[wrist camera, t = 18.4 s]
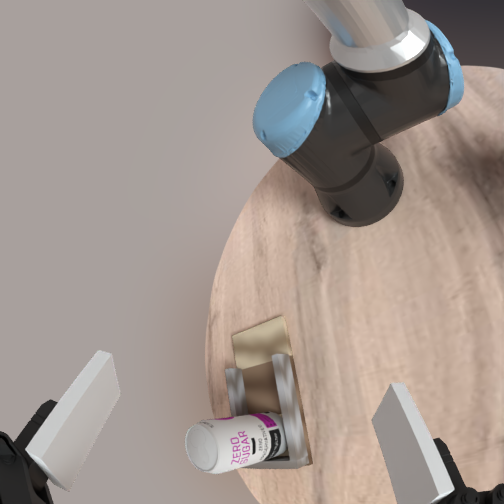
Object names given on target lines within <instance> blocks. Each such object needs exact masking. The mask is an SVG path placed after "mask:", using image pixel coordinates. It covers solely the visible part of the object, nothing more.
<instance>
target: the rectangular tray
mask: <svg viewBox="0 0 504 504" xmlns="http://www.w3.org/2000/svg"><path fill="white" fill-rule="evenodd" d="M232 339H233V346H234V354H235V361H236V368H229V369H225V374H226V381H227V388H228V395H229V402H230V409H231V415H232V417H236V416H244V415H250V414H257V413H263V412H273V413H276V414H278V415H279V416H281V417H282V418H283V423H284V428H285V434H286V440H287V445H288V448H287V449H286V450H285V452H284V453H282V454H280V455H278V456H276V457H273V458H270V459H267V460H264V461H261V462H258V463H255V464H252V465H249V466H245V467H242V468H253V469H298V468H300V467H302V466H306V465H311V464H313V461H312V456H311V450H310V445H309V439H308V434H307V428H306V423H305V417H304V412H303V407H302V401H301V396H300V391H299V386H298V381H297V375H296V370H295V365H294V360H293V355H292V350H291V345H290V340H289V335H288V330H287V325H286V321H285V316H279V317H277V318H274V319H272V320H270V321H267V322H265V323H263V324H260V325H258V326H255V327H253V328H250V329H248V330H245V331H243V332H240V333H238V334H235V335H233V336H232Z"/></svg>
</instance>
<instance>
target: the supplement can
mask: <svg viewBox="0 0 504 504" xmlns="http://www.w3.org/2000/svg"><path fill="white" fill-rule="evenodd" d="M287 448H288V445H287V440H286V434H285V428H284V423H283V418H282V417H281V416H279V415H278V414H276V413H273V412H263V413H257V414H250V415H244V416H236V417H228V418H219V419H210V420H201V421H200V422H199V423H197V424H196V425H193V426H192V427H190V428H189V430H188V431H187V433H186V437H185V449H186V452H187V455H188V457H189V460H190V462H191V463H192V464H193V465H194V466H195V468H197V469H198V470H200V471H203V472H209V473H213V474H220V473H224V472H227V471H231V470H235V469H238V468H242V467H245V466H249V465H252V464H255V463H258V462H261V461H264V460H267V459H270V458H273V457H276V456H278V455H280V454H282V453H284V452H285V450H286V449H287Z"/></svg>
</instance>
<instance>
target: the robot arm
mask: <svg viewBox="0 0 504 504" xmlns="http://www.w3.org/2000/svg"><path fill="white" fill-rule="evenodd" d="M303 1H304V2H305V3H306V5H307V6H308V7H309V8H310V9H311V10H312V11H313V12H314V14H315V15H316V16H317V17H318V18H319V19H320V21H321V22H322V23H323V24H324V25H325V27H326V28H327V29H328V30H329V31H330V33H331V34H332V37H331V40H330V51H331V54H332V56H333V58H334V61H333V62H331V63H329V64H327V65H325V66H323V67H322V68H320V67H319V66H317V65H315V64H313V63H310V62H300V63H299V64H294V65H291V66H290V67H288V68H286V69H285V70H283V71H282V72H280V73H279V74H278V75H277V76H276V77H275V78H274V79H273V80H272V81H271V82H270V83H269V84H268V86H267V87H266V88H265V90H264V91H263V93H262V94H261V96H260V98H259V100H258V102H257V104H256V107H255V110H254V114H253V129H254V132H255V134H256V136H257V138H258V139H259V140H260V141H261V142H262V143H263V144H264V145H265V146H266V147H267V148H268V149H269V150H270V151H271V152H272V153H273V155H275V156H276V157H279V158H280V159H281V160H283V161H284V162H285V163H286V164H288V165H289V166H290V167H291V168H292V169H294V170H295V171H296V172H297V173H298V174H300V175H301V176H302V177H303V178H304V179H306V180H307V181H308V182H309V183H310V184H312V185H313V186H314V188H315V191H316V193H317V195H318V198H319V200H320V202H321V205H322V206H323V208H324V209H325V211H326V212H327V213H328V214H329V215H330V216H332V217H333V218H334V219H335V220H336V221H338V222H340V223H341V224H344V225H347V226H352V227H361V226H367V225H370V224H373V223H375V222H377V221H379V220H381V219H382V218H384V217H385V216H386V215H388V214H389V213H390V212H391V211H392V210H393V208H394V207H395V206H396V204H397V203H398V201H399V199H400V196H401V194H402V190H403V183H404V179H403V172H402V169H401V167H400V165H399V163H398V161H397V159H396V158H395V156H394V155H393V154H392V153H391V151H389V150H388V149H387V148H386V147H384V146H383V145H381V144H380V143H379V142H381V141H383V140H385V139H387V138H389V137H391V136H393V135H395V134H398V133H400V132H402V131H404V130H406V129H409V128H411V127H413V126H415V125H418V124H420V123H422V122H424V121H427V120H429V119H431V118H433V117H436V116H440V115H442V114H443V113H445V112H446V111H447V110H448V109H450V108H452V107H454V106H456V105H457V104H458V103H459V102H460V101H461V99H462V97H463V93H464V79H463V74H462V70H461V66H460V63H459V61H458V59H457V58H455V56H454V53H453V52H454V50H453V48H452V46H451V45H450V43H449V42H448V40H447V39H446V37H445V36H444V35H443V33H442V32H441V31H440V30H439V29H438V28H437V27H436V26H435V25H433V24H432V23H431V22H429V21H427V20H424V19H423V18H422V17H421V16H420V15H418V14H417V13H416V12H414V11H412V10H410V9H407V8H405V6H404V4H403V2H402V0H303ZM120 395H121V392H120V388H119V384H118V380H117V375H116V371H115V366H114V361H113V356H112V354H111V353H107V352H103V351H100V350H98V351H97V353H96V354H95V355H94V356H93V358H92V359H91V360H90V362H89V363H88V364H87V365H86V366H85V368H84V369H83V370H82V372H81V373H80V374H79V376H78V377H77V378H76V379H75V381H74V382H73V383H72V385H71V386H70V387H69V389H68V390H67V391H66V393H65V394H64V395H63V397H62V398H61V399H60V401H59V402H55V401H53V400H49V401H47V402H45V403H44V404H42V405H41V406H40V408H39V409H38V410H37V412H36V414H34V416H33V417H32V418H31V421H29V422H28V424H27V425H26V426H25V428H24V429H23V430H22V432H21V433H20V435H19V436H18V437H17V439H16V441H14V442H13V441H12V440H11V439H10V437H9V436H8V435H7V434H6V433H4V432H1V431H0V504H53V501H52V497H51V494H50V491H49V488H48V485H47V483H46V482H47V480H48V478H49V479H50V480H51V481H52V483H53V484H54V485H56V486H58V487H60V488H62V489H64V490H66V491H68V492H69V491H70V489H71V487H72V485H73V483H74V481H75V479H76V477H77V475H78V473H79V471H80V469H81V467H82V465H83V463H84V461H85V459H86V457H87V455H88V453H89V451H90V449H91V448H92V446H93V444H94V442H95V440H96V438H97V437H98V435H99V433H100V431H101V429H102V427H103V425H104V424H105V422H106V420H107V418H108V416H109V414H110V413H111V410H112V409H113V407H114V405H115V404H116V402H117V400H118V398H119V396H120ZM372 423H373V426H374V429H375V432H376V435H377V438H378V441H379V444H380V447H381V450H382V453H383V457H384V460H385V463H386V466H387V469H388V473H389V476H390V479H391V483H392V486H393V490H394V493H395V497H396V500H397V504H504V484H503V483H502V484H499V485H497V486H496V487H495V488H494V489H493V490H491V491H483V492H477V491H476V490H475V489H473V488H470V487H466V486H465V484H464V482H463V480H462V477H461V475H460V473H459V471H458V468H457V466H456V464H455V462H453V458H452V456H451V455H450V451H449V449H448V447H447V445H446V444H445V443H444V442H443V441H442V440H441V439H440V438H436V439H432V437H431V435H430V433H429V431H428V429H427V427H426V425H425V422H424V420H423V418H422V416H421V414H420V412H419V410H418V409H417V407H416V405H415V403H414V401H413V399H412V397H411V395H410V393H409V391H408V389H407V387H406V386H405V384H404V382H402V383H391V384H390V386H389V388H388V390H387V392H386V394H385V396H384V398H383V400H382V402H381V404H380V405H379V407H378V409H377V411H376V413H375V415H374V416H373V418H372Z"/></svg>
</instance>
